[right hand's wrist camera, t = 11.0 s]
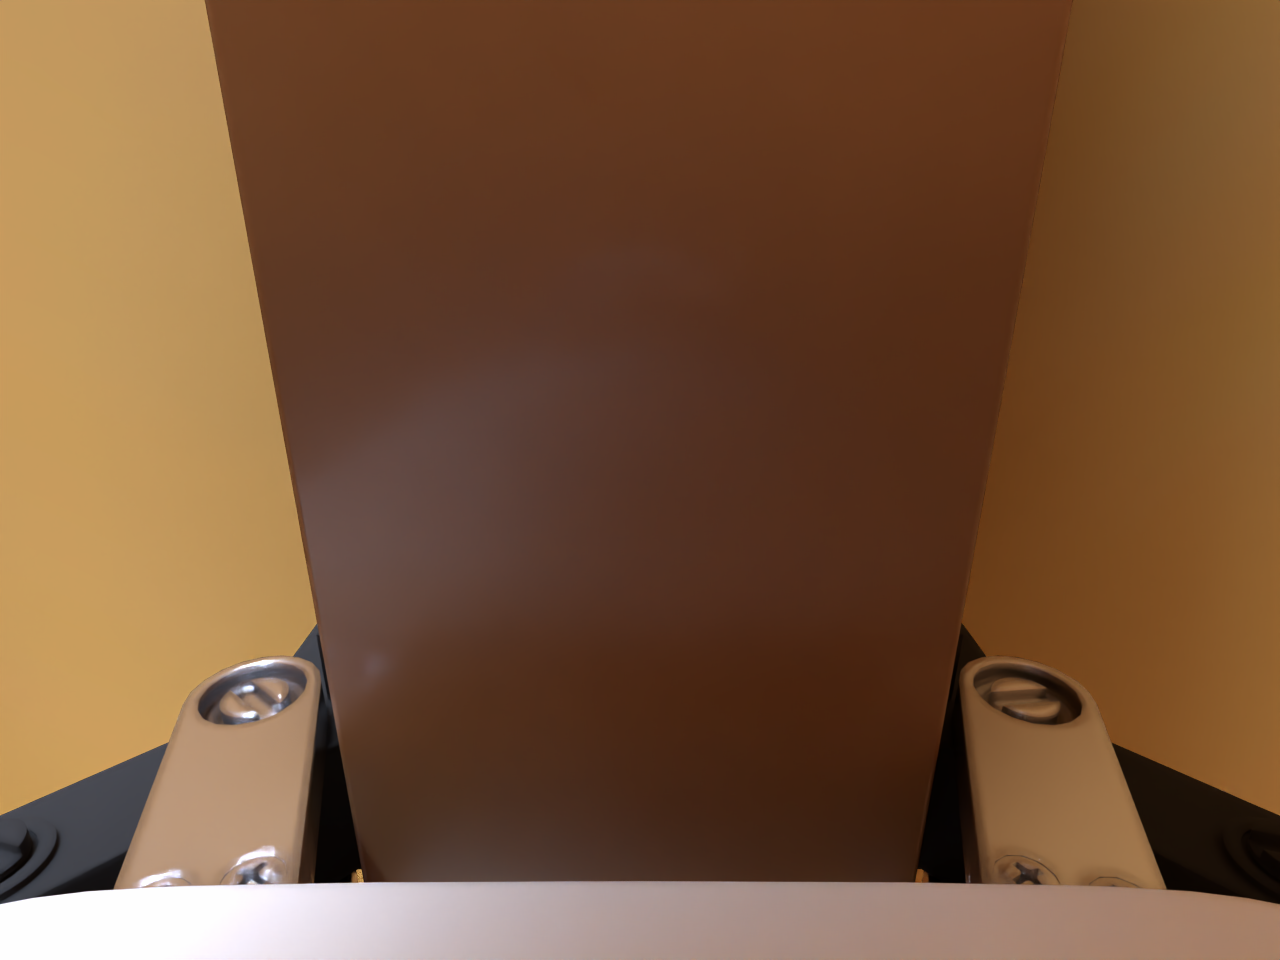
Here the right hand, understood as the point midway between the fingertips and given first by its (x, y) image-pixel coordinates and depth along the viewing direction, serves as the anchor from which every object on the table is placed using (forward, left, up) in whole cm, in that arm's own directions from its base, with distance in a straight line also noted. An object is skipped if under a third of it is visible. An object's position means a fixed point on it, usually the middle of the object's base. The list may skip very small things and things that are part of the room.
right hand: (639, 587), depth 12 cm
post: (+18, 0, -3) cm, 19 cm away
